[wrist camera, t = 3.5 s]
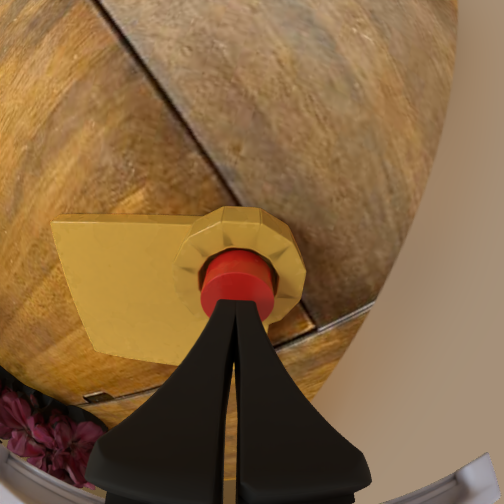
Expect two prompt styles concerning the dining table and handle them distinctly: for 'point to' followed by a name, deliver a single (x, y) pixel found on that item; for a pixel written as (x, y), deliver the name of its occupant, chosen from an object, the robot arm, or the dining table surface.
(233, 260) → the stop button
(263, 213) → the control block
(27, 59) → the dining table surface
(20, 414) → the flower arrangement
